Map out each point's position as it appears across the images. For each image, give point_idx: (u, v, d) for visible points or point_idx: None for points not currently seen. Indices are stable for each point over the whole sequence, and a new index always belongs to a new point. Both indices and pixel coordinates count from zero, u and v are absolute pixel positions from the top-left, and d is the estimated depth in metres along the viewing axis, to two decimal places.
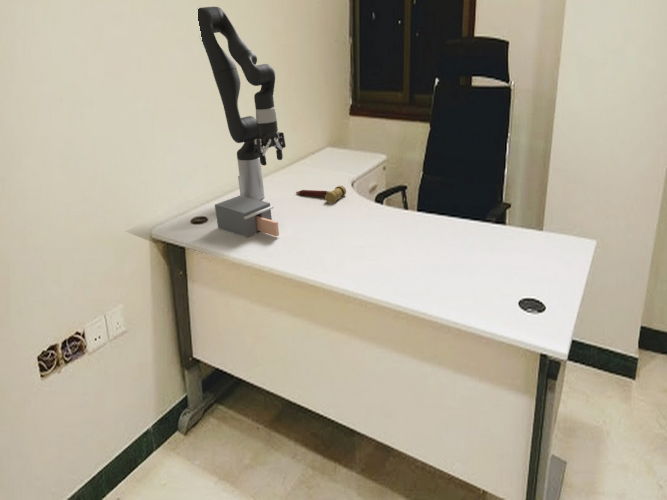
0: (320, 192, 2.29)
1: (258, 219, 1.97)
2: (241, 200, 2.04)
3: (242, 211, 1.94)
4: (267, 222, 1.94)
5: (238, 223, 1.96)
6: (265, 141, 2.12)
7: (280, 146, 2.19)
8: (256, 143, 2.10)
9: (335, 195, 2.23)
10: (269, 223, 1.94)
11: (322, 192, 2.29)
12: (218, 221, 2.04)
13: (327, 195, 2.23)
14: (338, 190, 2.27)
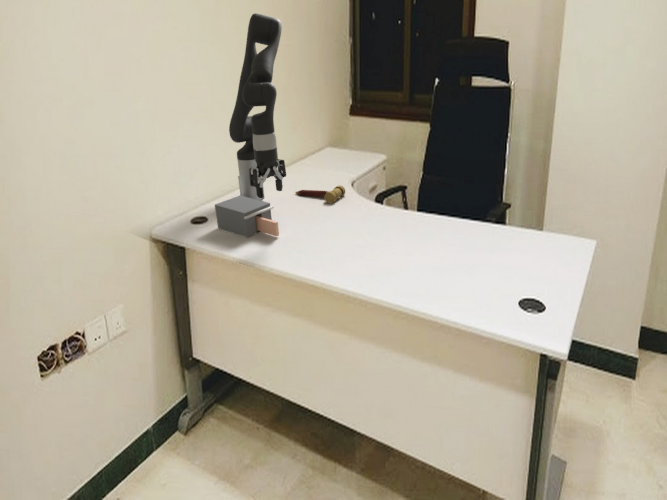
0: (319, 192, 2.29)
1: (258, 219, 1.97)
2: (241, 200, 2.04)
3: (242, 211, 1.94)
4: (267, 222, 1.94)
5: (238, 223, 1.96)
6: (263, 171, 1.83)
7: (280, 175, 1.89)
8: (252, 173, 1.80)
9: (334, 195, 2.23)
10: (269, 223, 1.94)
11: (321, 192, 2.29)
12: (218, 221, 2.04)
13: (326, 195, 2.23)
14: (337, 190, 2.27)
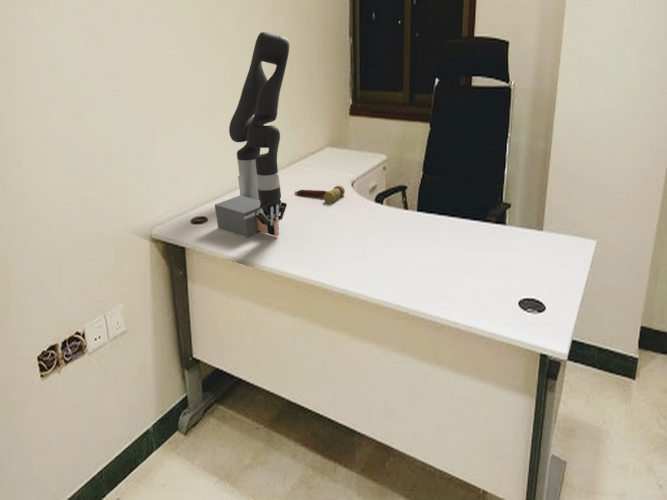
0: (319, 192, 2.30)
1: (258, 219, 1.97)
2: (241, 200, 2.04)
3: (242, 211, 1.94)
4: None
5: (238, 223, 1.96)
6: (267, 211, 1.89)
7: (278, 218, 1.93)
8: (259, 217, 1.88)
9: (334, 195, 2.23)
10: None
11: (321, 192, 2.29)
12: (218, 221, 2.04)
13: (326, 195, 2.24)
14: (337, 190, 2.27)
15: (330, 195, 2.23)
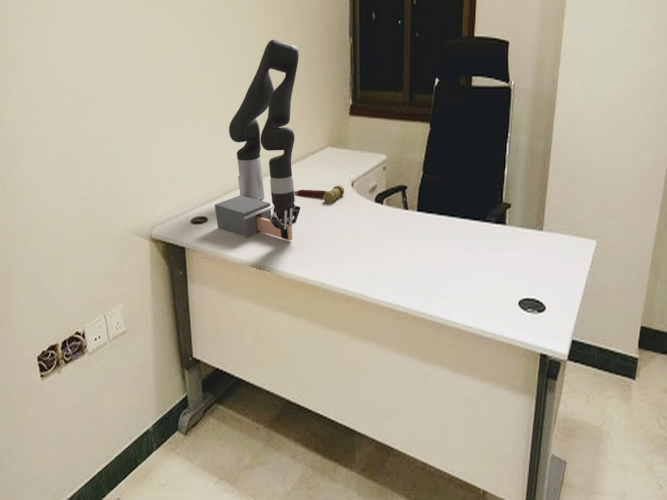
0: (318, 192, 2.30)
1: (271, 223, 1.93)
2: (241, 200, 2.04)
3: (242, 211, 1.94)
4: None
5: (238, 223, 1.96)
6: (281, 215, 1.85)
7: (291, 222, 1.89)
8: (273, 221, 1.84)
9: (333, 195, 2.23)
10: None
11: (320, 192, 2.29)
12: (218, 221, 2.04)
13: (325, 195, 2.24)
14: (336, 190, 2.27)
15: (329, 195, 2.23)
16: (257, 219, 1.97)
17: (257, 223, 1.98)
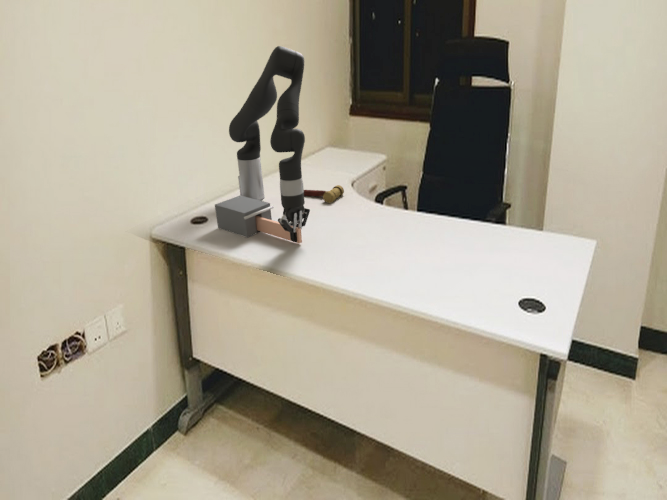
0: (318, 192, 2.30)
1: (280, 225, 1.90)
2: (241, 200, 2.04)
3: (242, 211, 1.94)
4: None
5: (238, 223, 1.96)
6: (291, 218, 1.82)
7: (301, 224, 1.86)
8: (282, 224, 1.81)
9: (333, 195, 2.23)
10: None
11: (320, 192, 2.29)
12: (218, 221, 2.04)
13: (325, 195, 2.24)
14: (336, 190, 2.27)
15: (329, 195, 2.23)
16: (266, 222, 1.94)
17: (266, 226, 1.95)
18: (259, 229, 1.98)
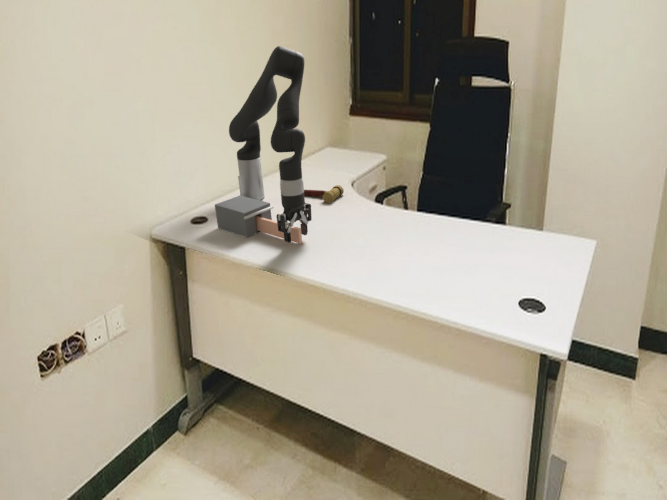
0: (318, 192, 2.30)
1: None
2: (241, 200, 2.04)
3: (242, 211, 1.94)
4: None
5: (238, 223, 1.96)
6: (290, 216, 1.82)
7: (306, 220, 1.88)
8: (280, 220, 1.79)
9: (332, 195, 2.23)
10: (292, 230, 1.87)
11: (320, 192, 2.29)
12: (218, 221, 2.04)
13: (324, 195, 2.24)
14: (335, 190, 2.27)
15: (329, 195, 2.23)
16: (266, 222, 1.94)
17: (266, 226, 1.95)
18: (260, 229, 1.98)
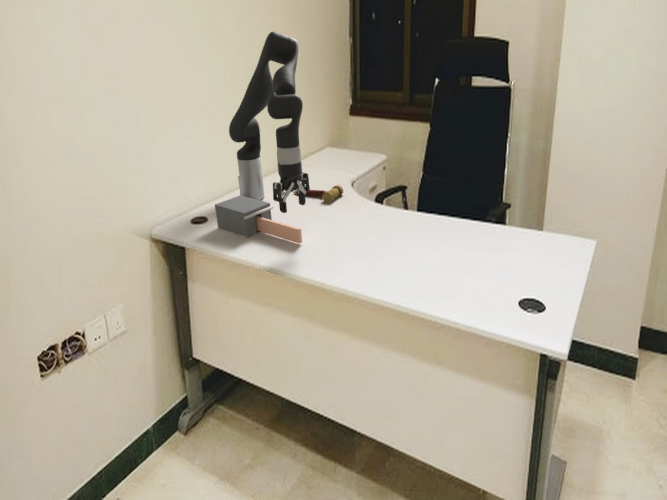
0: (317, 192, 2.30)
1: (280, 225, 1.90)
2: (241, 200, 2.04)
3: (242, 211, 1.94)
4: (290, 229, 1.87)
5: (238, 223, 1.96)
6: (287, 185, 1.77)
7: (303, 189, 1.84)
8: (276, 188, 1.75)
9: (332, 195, 2.23)
10: (292, 230, 1.87)
11: (319, 192, 2.30)
12: (218, 221, 2.04)
13: (324, 195, 2.24)
14: (335, 190, 2.27)
15: (328, 195, 2.23)
16: (266, 222, 1.94)
17: (266, 226, 1.95)
18: (260, 229, 1.98)
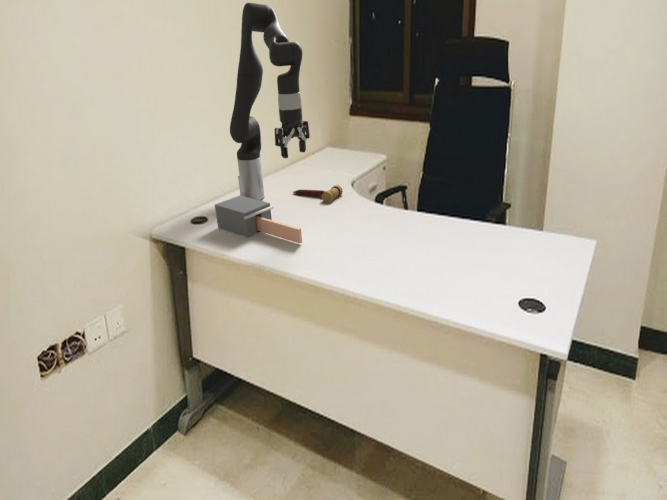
0: (317, 192, 2.30)
1: (280, 225, 1.90)
2: (241, 200, 2.04)
3: (242, 211, 1.94)
4: (290, 229, 1.87)
5: (238, 223, 1.96)
6: (288, 131, 1.86)
7: (304, 137, 1.92)
8: (278, 133, 1.84)
9: (331, 195, 2.24)
10: (292, 230, 1.87)
11: (319, 192, 2.30)
12: (218, 221, 2.04)
13: (323, 195, 2.24)
14: (334, 190, 2.27)
15: (328, 195, 2.23)
16: (266, 222, 1.94)
17: (266, 226, 1.95)
18: (260, 229, 1.98)
